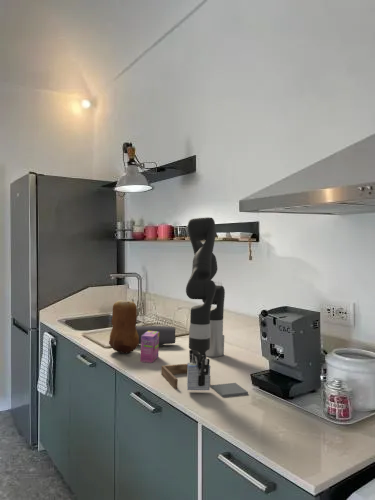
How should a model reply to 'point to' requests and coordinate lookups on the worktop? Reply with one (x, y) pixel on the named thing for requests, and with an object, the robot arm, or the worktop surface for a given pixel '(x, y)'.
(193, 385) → the medicine box
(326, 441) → the worktop surface
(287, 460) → the worktop surface
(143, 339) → the box
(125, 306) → the butternut squash
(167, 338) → the bluetooth speaker
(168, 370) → the u-shaped wooden frame
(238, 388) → the coaster
